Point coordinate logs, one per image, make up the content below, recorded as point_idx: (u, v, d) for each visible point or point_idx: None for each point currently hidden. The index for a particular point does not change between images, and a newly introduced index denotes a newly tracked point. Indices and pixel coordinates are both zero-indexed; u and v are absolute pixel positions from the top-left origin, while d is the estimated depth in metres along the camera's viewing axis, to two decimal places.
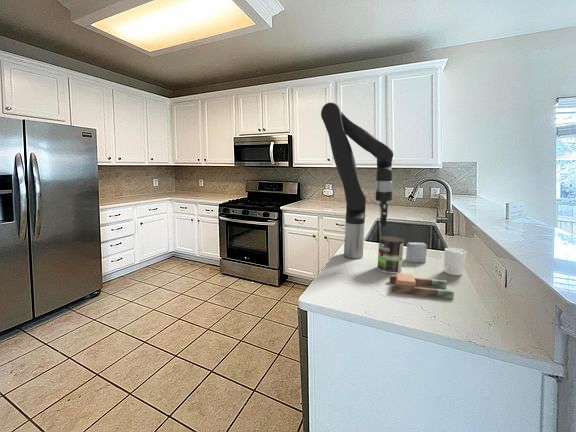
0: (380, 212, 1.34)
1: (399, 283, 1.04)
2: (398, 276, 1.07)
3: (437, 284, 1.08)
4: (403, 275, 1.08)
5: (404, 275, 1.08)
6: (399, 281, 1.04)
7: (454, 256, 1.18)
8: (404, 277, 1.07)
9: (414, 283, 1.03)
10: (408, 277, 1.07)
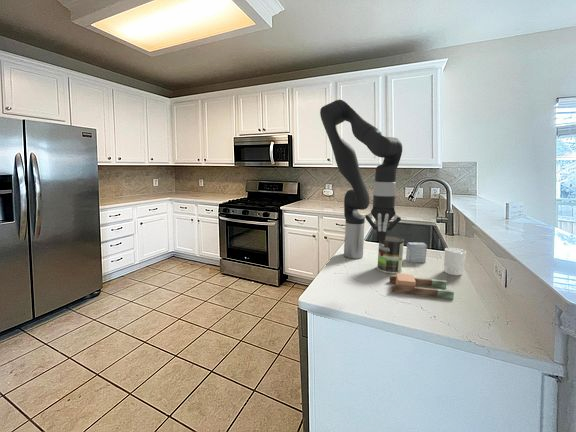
0: None
1: (399, 283, 1.04)
2: (398, 276, 1.07)
3: (437, 284, 1.08)
4: (403, 275, 1.08)
5: (404, 275, 1.08)
6: (399, 281, 1.04)
7: (454, 256, 1.18)
8: (404, 277, 1.07)
9: (414, 283, 1.03)
10: (408, 277, 1.07)
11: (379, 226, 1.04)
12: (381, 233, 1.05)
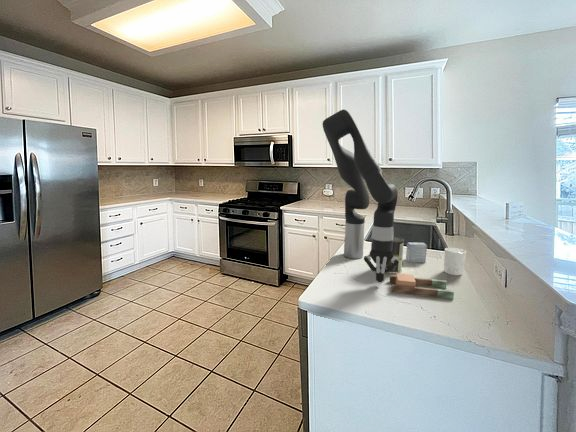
0: (385, 268, 1.06)
1: (399, 283, 1.04)
2: (398, 276, 1.07)
3: (437, 284, 1.08)
4: (403, 275, 1.08)
5: (404, 275, 1.08)
6: (399, 281, 1.04)
7: (454, 256, 1.18)
8: (404, 277, 1.07)
9: (414, 283, 1.03)
10: (408, 277, 1.07)
11: (377, 268, 1.07)
12: (379, 275, 1.08)
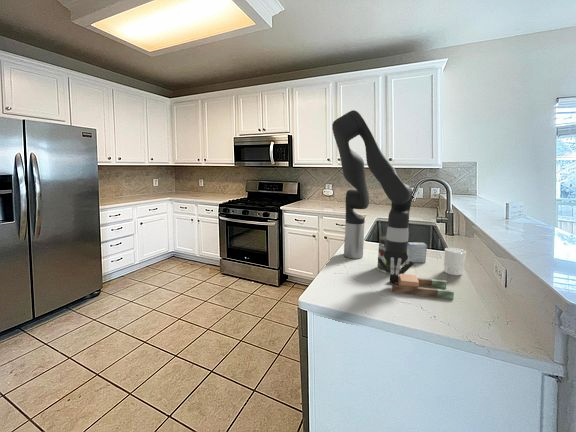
0: (399, 269, 1.05)
1: (402, 283, 1.04)
2: (401, 276, 1.07)
3: (437, 284, 1.08)
4: (406, 275, 1.08)
5: (407, 275, 1.08)
6: (402, 281, 1.04)
7: (454, 256, 1.18)
8: (407, 277, 1.06)
9: (417, 283, 1.02)
10: (411, 277, 1.07)
11: (392, 269, 1.06)
12: (394, 276, 1.06)
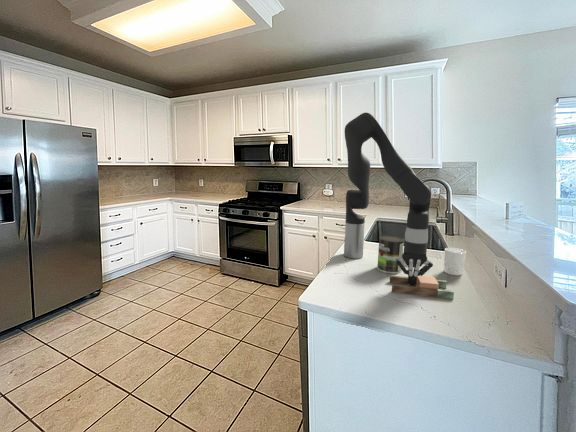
0: (418, 271, 1.03)
1: (421, 285, 1.02)
2: (420, 278, 1.05)
3: None
4: (424, 277, 1.06)
5: (425, 277, 1.06)
6: (421, 283, 1.02)
7: (454, 256, 1.18)
8: (425, 279, 1.05)
9: (437, 285, 1.01)
10: (430, 279, 1.05)
11: (410, 271, 1.04)
12: (412, 278, 1.05)
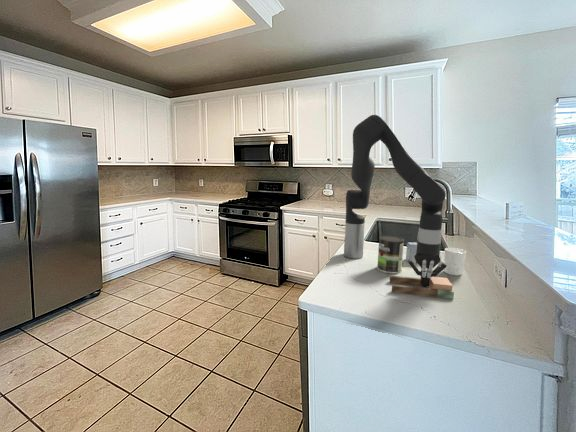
0: (431, 272, 1.02)
1: (435, 287, 1.01)
2: (432, 279, 1.04)
3: None
4: (437, 278, 1.05)
5: (438, 278, 1.05)
6: (435, 285, 1.01)
7: (454, 256, 1.18)
8: (438, 280, 1.04)
9: (451, 287, 1.00)
10: (443, 280, 1.04)
11: (423, 272, 1.03)
12: (425, 279, 1.03)
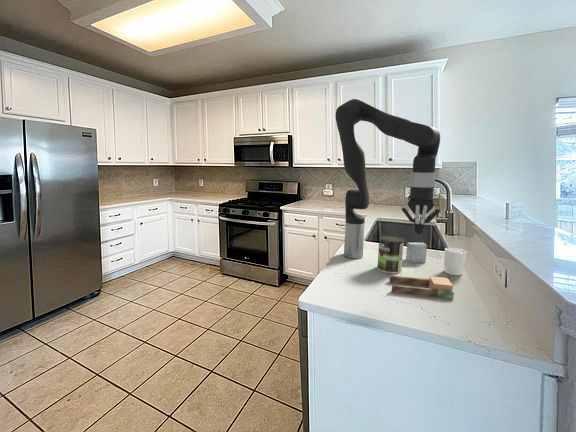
0: None
1: (435, 287, 1.01)
2: (433, 279, 1.04)
3: None
4: (438, 278, 1.05)
5: (439, 278, 1.05)
6: (435, 285, 1.01)
7: (454, 256, 1.18)
8: (439, 280, 1.04)
9: (451, 287, 1.00)
10: (444, 280, 1.04)
11: (417, 218, 1.01)
12: (419, 226, 1.02)
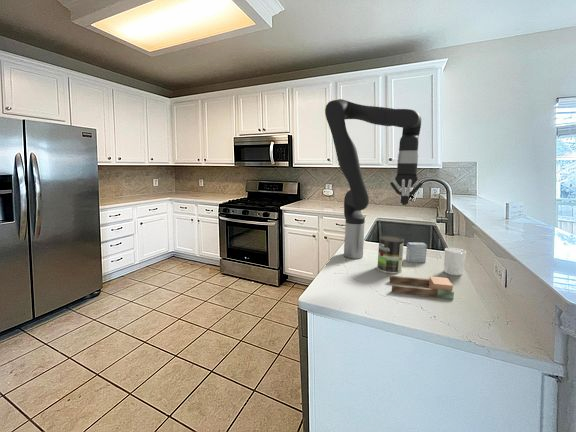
0: None
1: (435, 287, 1.01)
2: (433, 279, 1.04)
3: None
4: (438, 278, 1.05)
5: (439, 278, 1.05)
6: (435, 285, 1.01)
7: (454, 256, 1.18)
8: (439, 280, 1.04)
9: (451, 287, 1.00)
10: (444, 280, 1.04)
11: (403, 191, 1.17)
12: (404, 197, 1.18)
